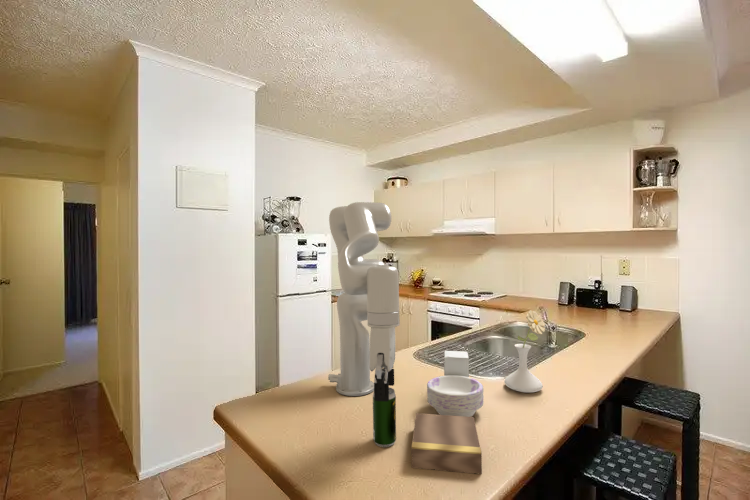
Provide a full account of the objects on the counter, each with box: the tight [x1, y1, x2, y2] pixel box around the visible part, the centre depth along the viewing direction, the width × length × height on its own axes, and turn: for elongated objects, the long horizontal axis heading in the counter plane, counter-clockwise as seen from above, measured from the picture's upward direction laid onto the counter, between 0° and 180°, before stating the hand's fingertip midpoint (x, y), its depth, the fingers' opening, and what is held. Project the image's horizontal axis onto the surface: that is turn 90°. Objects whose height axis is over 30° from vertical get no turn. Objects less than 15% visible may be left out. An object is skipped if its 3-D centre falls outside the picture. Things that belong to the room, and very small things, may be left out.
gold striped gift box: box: [411, 412, 483, 475], centre depth 81 cm, size 14×16×4 cm
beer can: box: [372, 387, 397, 448], centre depth 84 cm, size 5×5×12 cm
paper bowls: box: [426, 375, 485, 417], centre depth 99 cm, size 15×15×8 cm
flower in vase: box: [504, 309, 546, 393], centre depth 115 cm, size 13×11×25 cm
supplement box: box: [443, 350, 470, 378], centre depth 111 cm, size 7×7×13 cm
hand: (384, 392), depth 84 cm, fingers open, 9 cm apart
